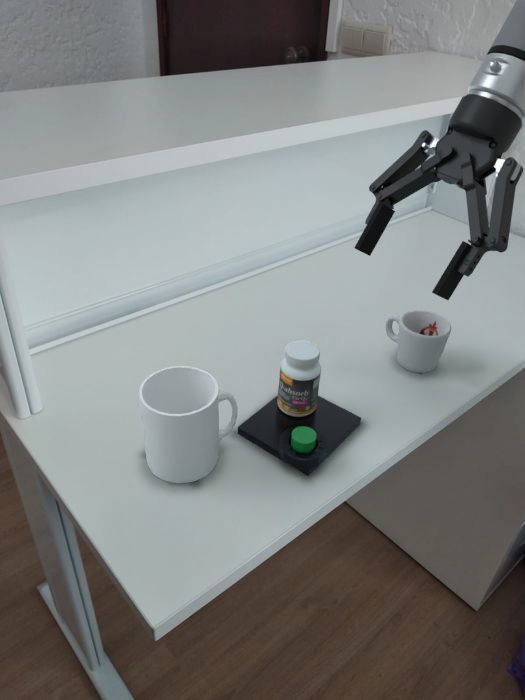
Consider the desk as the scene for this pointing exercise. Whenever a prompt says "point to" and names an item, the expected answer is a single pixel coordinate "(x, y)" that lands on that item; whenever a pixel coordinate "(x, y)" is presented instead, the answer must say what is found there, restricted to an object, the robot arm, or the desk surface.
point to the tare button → (303, 439)
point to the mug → (182, 422)
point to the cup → (419, 339)
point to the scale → (276, 426)
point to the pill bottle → (299, 378)
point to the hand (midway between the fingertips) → (398, 273)
